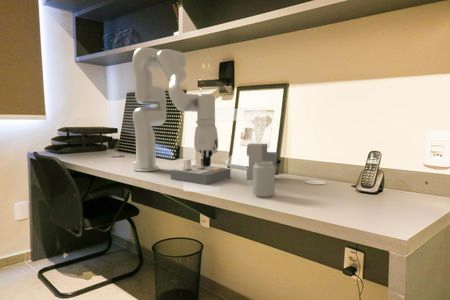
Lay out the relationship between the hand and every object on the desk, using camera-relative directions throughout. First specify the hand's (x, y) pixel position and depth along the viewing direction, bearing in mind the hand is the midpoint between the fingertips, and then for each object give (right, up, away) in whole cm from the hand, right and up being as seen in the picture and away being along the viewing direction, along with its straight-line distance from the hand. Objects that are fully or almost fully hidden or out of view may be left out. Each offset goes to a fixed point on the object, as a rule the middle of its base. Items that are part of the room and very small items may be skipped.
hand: (206, 165), depth 142 cm
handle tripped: (-3, -1, +2) cm, 3 cm away
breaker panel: (-3, -6, +3) cm, 7 cm away
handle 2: (-1, 0, +8) cm, 9 cm away
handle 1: (-8, -2, -1) cm, 9 cm away
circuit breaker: (+25, -6, +2) cm, 26 cm away
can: (+21, -9, -27) cm, 36 cm away
